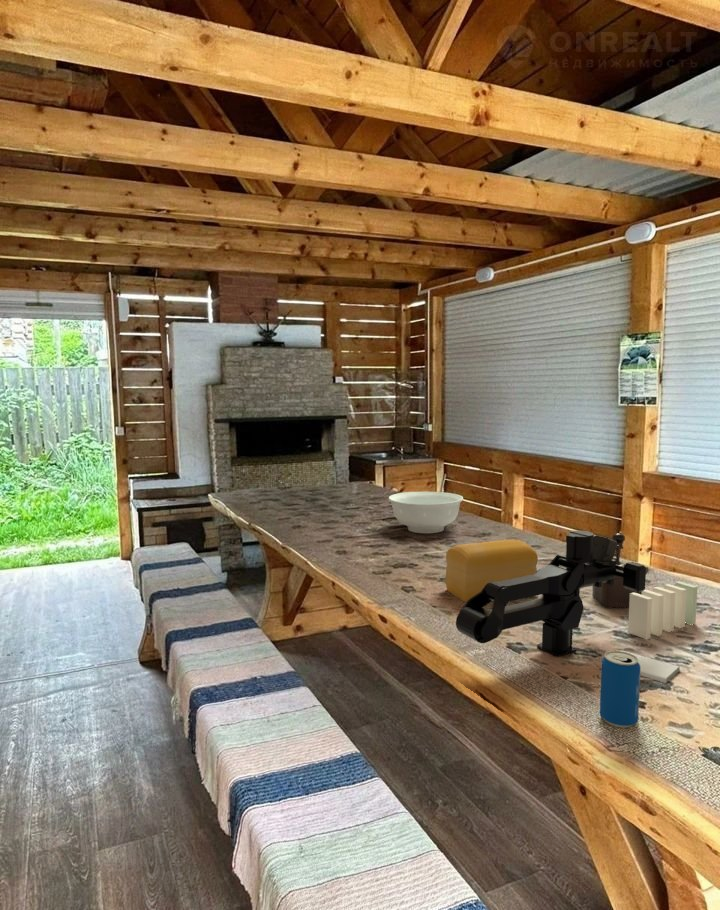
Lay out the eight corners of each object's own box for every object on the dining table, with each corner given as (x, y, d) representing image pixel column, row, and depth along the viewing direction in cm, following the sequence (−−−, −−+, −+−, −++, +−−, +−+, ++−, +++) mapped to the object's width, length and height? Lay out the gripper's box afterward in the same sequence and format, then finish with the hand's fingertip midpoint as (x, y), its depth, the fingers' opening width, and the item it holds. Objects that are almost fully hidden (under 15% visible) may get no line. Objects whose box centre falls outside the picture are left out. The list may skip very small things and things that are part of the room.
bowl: (372, 529, 269) (372, 496, 268) (422, 519, 291) (422, 488, 290) (429, 542, 246) (429, 506, 244) (478, 530, 268) (478, 496, 266)
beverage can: (630, 734, 108) (633, 668, 107) (594, 721, 112) (596, 657, 111) (642, 719, 113) (645, 656, 112) (607, 707, 117) (609, 646, 116)
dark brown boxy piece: (645, 608, 171) (648, 544, 169) (606, 608, 170) (609, 544, 169) (620, 590, 186) (622, 531, 185) (583, 590, 186) (586, 532, 184)
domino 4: (680, 628, 156) (682, 590, 155) (662, 622, 160) (664, 584, 159) (684, 627, 157) (686, 589, 156) (666, 621, 161) (668, 584, 160)
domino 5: (691, 625, 158) (693, 587, 157) (673, 619, 162) (675, 582, 161) (695, 624, 159) (697, 586, 158) (677, 618, 163) (679, 581, 162)
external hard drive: (665, 686, 127) (606, 666, 136) (679, 673, 133) (621, 655, 142) (666, 678, 127) (606, 659, 136) (679, 666, 133) (621, 648, 141)
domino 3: (669, 632, 154) (671, 593, 153) (651, 625, 158) (653, 587, 157) (673, 631, 154) (675, 592, 153) (655, 624, 159) (657, 586, 158)
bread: (465, 603, 176) (466, 551, 174) (444, 589, 188) (445, 541, 186) (538, 593, 184) (539, 544, 182) (513, 581, 196) (514, 534, 194)
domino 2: (657, 635, 152) (659, 596, 150) (639, 629, 156) (641, 590, 155) (662, 634, 152) (663, 595, 151) (644, 627, 157) (645, 589, 156)
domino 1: (646, 639, 149) (647, 599, 148) (628, 632, 154) (629, 593, 153) (650, 638, 150) (652, 598, 149) (632, 631, 154) (634, 592, 153)
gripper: (623, 549, 138) (667, 540, 145) (559, 532, 154) (601, 526, 162) (621, 597, 139) (665, 586, 147) (557, 576, 155) (600, 567, 163)
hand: (631, 564), depth 154 cm, fingers open, 9 cm apart
